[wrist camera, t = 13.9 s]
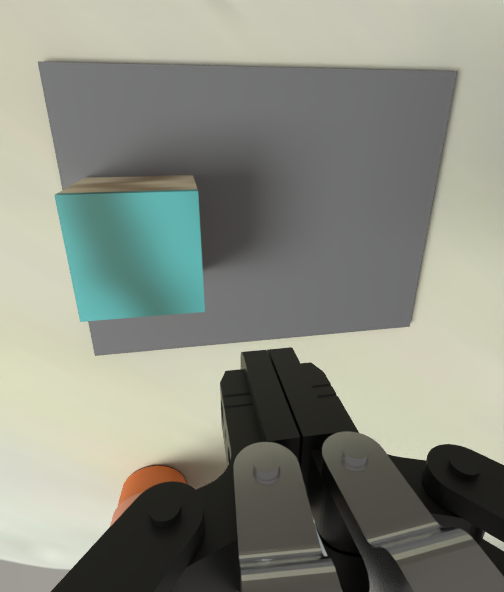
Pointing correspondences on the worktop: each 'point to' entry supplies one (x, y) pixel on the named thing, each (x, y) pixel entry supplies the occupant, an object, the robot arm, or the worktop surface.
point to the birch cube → (133, 246)
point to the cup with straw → (144, 485)
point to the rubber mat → (267, 187)
